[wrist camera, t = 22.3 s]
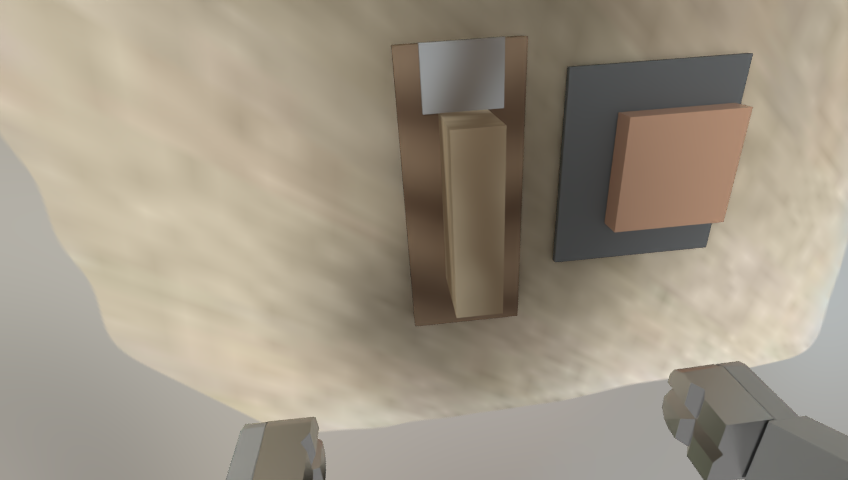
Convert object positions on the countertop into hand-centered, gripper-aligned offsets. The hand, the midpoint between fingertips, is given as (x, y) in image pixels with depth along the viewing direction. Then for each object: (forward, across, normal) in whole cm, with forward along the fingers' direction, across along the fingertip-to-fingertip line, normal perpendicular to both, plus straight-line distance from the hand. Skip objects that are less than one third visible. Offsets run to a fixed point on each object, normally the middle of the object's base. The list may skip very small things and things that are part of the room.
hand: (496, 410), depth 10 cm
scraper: (+21, -3, +2) cm, 21 cm away
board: (+22, -3, +4) cm, 23 cm away
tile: (+21, -13, +3) cm, 25 cm away
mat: (+22, -16, +3) cm, 28 cm away
